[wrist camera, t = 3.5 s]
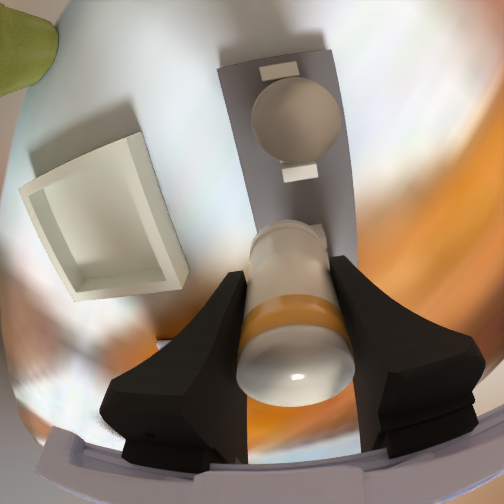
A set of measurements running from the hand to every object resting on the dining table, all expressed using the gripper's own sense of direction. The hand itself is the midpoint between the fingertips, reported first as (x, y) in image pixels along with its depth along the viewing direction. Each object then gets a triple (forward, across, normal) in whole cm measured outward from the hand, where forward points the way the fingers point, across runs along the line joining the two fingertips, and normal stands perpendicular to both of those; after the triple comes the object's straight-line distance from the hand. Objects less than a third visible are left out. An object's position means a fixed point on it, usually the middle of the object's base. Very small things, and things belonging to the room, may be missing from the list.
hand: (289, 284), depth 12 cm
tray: (+10, +15, -1) cm, 18 cm away
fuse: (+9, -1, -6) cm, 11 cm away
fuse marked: (+2, 0, 0) cm, 2 cm away
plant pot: (+11, +17, -18) cm, 27 cm away
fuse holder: (+10, -1, 0) cm, 10 cm away
